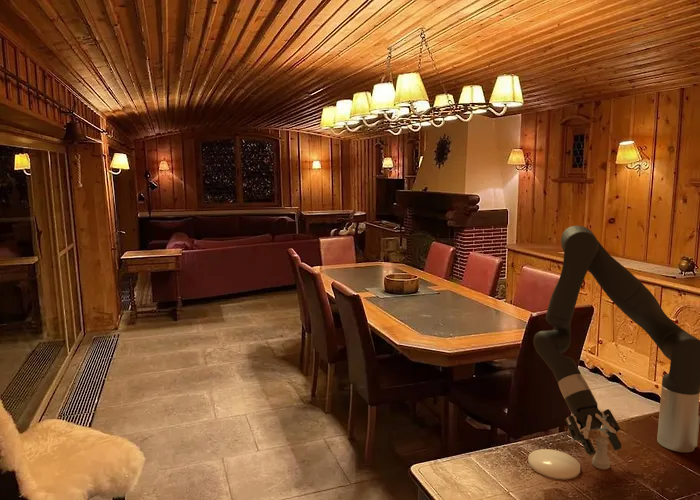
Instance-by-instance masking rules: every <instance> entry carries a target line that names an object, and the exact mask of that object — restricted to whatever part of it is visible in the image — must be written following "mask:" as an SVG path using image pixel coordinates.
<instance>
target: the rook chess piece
mask: <svg viewBox="0 0 700 500" xmlns="http://www.w3.org/2000/svg"><path fill="white" fill-rule="evenodd" d="M595 442H596V443H597V444H596V450H595V451H596V453H595V454H594V456H593V457H592V461H591V464H592V465H593V466H594V467H595V468H596V469H599V470H604V471H605V470H609V468H610V467H611V461H610V459H609V457H608V449H609V446H608V445H609V444H610V440H609V438H608V436H607V437H606V436H605V435H603V436H602V435H598V436H597V438H596V439H595Z"/></svg>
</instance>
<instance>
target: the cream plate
mask: <svg viewBox="0 0 700 500" xmlns="http://www.w3.org/2000/svg"><path fill="white" fill-rule="evenodd" d="M527 459H528V460H527V461H528V465H529V466H530V468H531V469H532V470H534V471H535V472H537V473H539V474H540V475H542V476H544V477H547V478H551V479H555V480H572V479H575V478H577V477H578V476H579V475H580V473H581V465H580V463H579V461H578V460H577V459H576V458H574V457H573V456H571V455H570V454H568V453H565V452H563V451H559V450H555V449H549V448H547V449H546V448H541V449H536V450H533V451H532V452H530V453H529V455H528V458H527Z"/></svg>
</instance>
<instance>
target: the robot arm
mask: <svg viewBox="0 0 700 500" xmlns="http://www.w3.org/2000/svg"><path fill="white" fill-rule="evenodd" d="M560 244H561V248H562V251H563V262H562V268H561V273H560V275H559V278H558V281H557V283H556V285H555V288H554V289H553V292H552V294H551V297H550V300H549V303H548V307H547V310H546V314H545V320H546V322H547V323H548V325H550V326H552V327H553V328H552V330H540V331H538V332H536V333H535V335H534V336H533V347H534V349H535V351H536V353H537V355H539V357H540V358H541V359H542V361H543V362H544V363H545V364H546V365H547V367H548V368H549V369H550V370H551V371H552V374H553V375H554V378H555V380H556V382H557V384H558V388H559V391H560V392H561V394H562V397H563V399H564V401H565V403H566V405H567V407H568V409H569V411H570V414H572V415H569V416H568V417H566V418H564V422H565V424H566V426H567V428H568V431H569V433H570V436H571V438H572V440H574V441H580V443H581V444H582V446H583V448H584V451H585V452H586V454H588V456H593V455H595V454H596V451H597V450H596V449H595V447H594V445H593V444H592V442H591V439H590V438H589V434H590V431H593V430H594V431H597V430H599V432H603V433H604V434H605V435H606V436H607V438H608V441H609V443H610V444H611V446H612V448H613V450H614V451H619V450H621V449H622V443H621V441H620V440H619V439H620V438H619V437H618V435H617V433H618V432H619V431H620V430H621V427H620V426H619V423H618V421H617V420H616V419H615V416H614V415H613V413H612V411H611V410H610V409H609V408H608V409H604V410H603V411H601V410H599V407H598V405H599V404H598V401H597V400H596V397H595V396H594V394H593V392H592V390H591V389H590V387H589V384H588V383H587V381H586V379H585V377H584V376H583V375H582V373H581V371H580V369H579V367H578V365H577V363H576V362H575V360H574V359H573V358H572V357H570V356H565V355H564V353H565V352H567V350H568V349H569V348H570V345H571V341H572V335H571V334H572V333H571V331H572V329H571V327H572V326H571V322H572V319H573V316H574V312H575V310H576V309H575V308H576V305H577V302H578V298H579V294H580V291H581V289H582V286H583V282H584V279H585V277H586V276H587V273H588V272H589V273H590V274H591V275H592V277H593V278H594V280H595V281H596V282H597V284H598V285H599V287H600V288H601V289H602V291H603V292H604V294H606V296H607V297H608V298H609V299H610V300H611V301H612V303H614V304H615V306H616V307H617V308H618V309H619V310H620V311H621V312H622V313H624V314H625V315H626V316H627V317H628V318H629V319H630V320H631V321H632V322H634V323H635V324H636V325H637V326H638V327H640V328H641V329H643V330H644V331H645V332H646V334H647V335H648V336H649V338H650V339H651V340H652V341H653V342H654V344H655V345H656V346H657V348H658V349H659V350H660V352H661V353H662V354H663V355H664V356H665V357H666V358H667V359H668V360H670V365H669V371H668V373H665V374H664V375H663V376H662V379H661V390H660V391H661V392H660V400H659V401H660V403H659V405H660V406H659V415H658V423H657V425H658V427H657V437H656V441H657V443H658V444H659V445H660V446H662V447H664V448H665V449H668V450H670V451H673V452H677V453H691V452H694V451H695V448H697V447H698V441H699V439H698V438H699V429H700V427H699V426H700V415H699V408H700V339H699V338H697V337H696V336H694V335H693V334H691V333H689V332H687V331H686V330H684V329H683V328H682V327H681V326H679V325H678V324H677V323H675V322H674V321H673V320H672V319H671V318H670V317H669V316H668V315H667V314H666V313H665V311H664V310H663V309H662V307H661V305H660V303H659V302H658V300H657V298H656V297H655V295H654V294H653V293H652V291H651V290H650V289H648V288H647V287H646V286H645V285H644V283H643V282H641V280H640V279H639V278H637V277H636V276H635V275H634V274H633V273H632V272H631V271H630V270H629V269H627V268H626V267H625V266H624V265H623V264H621V263H620V262H619V261H618V260H616V259H615V258H614V257H613V256H612V255H611V254H610V253H609V252H608V251H607V250H606V248H605V247H603V245H602V244H601V243H600V241H599V240H598V238H597V236H596V235H595V234H594V233H593V231H592V230H591V229H590V228H588V227H586V226H583V225H573V226H571V225H570V226H569V227H567V228H566V229H565V230H564V231H563V233H562V234H561V238H560ZM578 425H579V426H578Z"/></svg>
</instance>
